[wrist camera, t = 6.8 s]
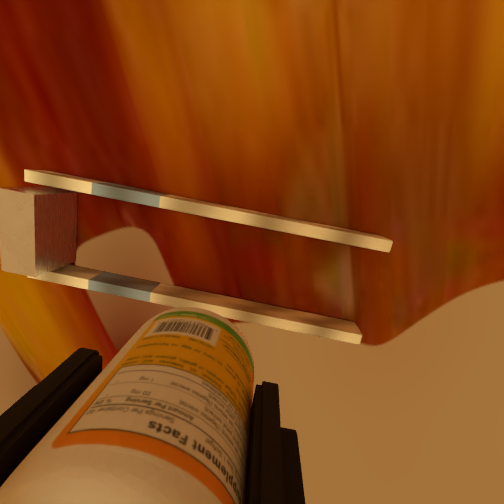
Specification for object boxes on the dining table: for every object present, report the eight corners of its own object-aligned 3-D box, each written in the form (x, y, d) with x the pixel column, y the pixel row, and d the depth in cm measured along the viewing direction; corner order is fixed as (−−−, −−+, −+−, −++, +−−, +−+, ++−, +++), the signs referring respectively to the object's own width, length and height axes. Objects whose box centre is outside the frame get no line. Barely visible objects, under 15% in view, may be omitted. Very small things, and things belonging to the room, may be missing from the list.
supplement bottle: (183, 428, 13) (-36, 1061, 4) (109, 343, 12) (-438, 892, 3) (279, 376, 12) (318, 1062, 3) (206, 279, 11) (-127, 795, 2)
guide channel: (381, 235, 25) (407, 248, 21) (351, 330, 28) (368, 361, 23) (47, 170, 26) (-4, 167, 21) (47, 269, 29) (2, 286, 24)
